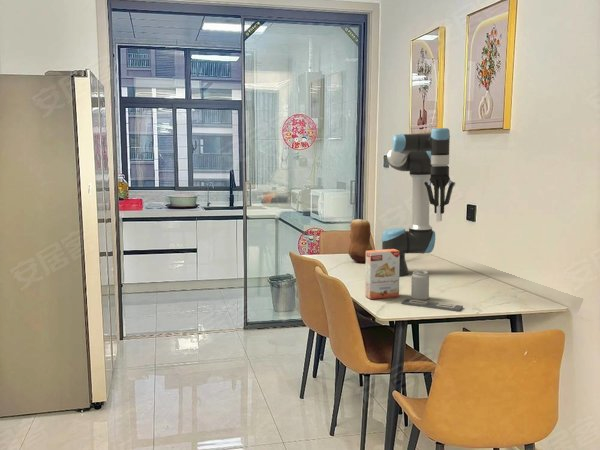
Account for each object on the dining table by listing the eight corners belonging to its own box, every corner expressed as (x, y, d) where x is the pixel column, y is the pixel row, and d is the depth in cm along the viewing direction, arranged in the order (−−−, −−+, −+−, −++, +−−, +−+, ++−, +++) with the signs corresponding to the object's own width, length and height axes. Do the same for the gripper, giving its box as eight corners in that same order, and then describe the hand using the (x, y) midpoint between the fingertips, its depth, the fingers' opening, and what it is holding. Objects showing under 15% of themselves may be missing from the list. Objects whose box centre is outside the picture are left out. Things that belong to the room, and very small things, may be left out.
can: (431, 298, 242) (432, 271, 240) (424, 302, 236) (424, 274, 234) (416, 295, 247) (416, 269, 245) (408, 299, 241) (408, 272, 239)
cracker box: (370, 300, 241) (370, 252, 238) (365, 296, 247) (364, 250, 244) (400, 297, 245) (400, 250, 242) (393, 293, 251) (394, 248, 248)
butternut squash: (372, 259, 327) (372, 217, 324) (373, 264, 314) (372, 220, 311) (348, 259, 329) (348, 217, 325) (348, 264, 316) (347, 220, 312)
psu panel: (406, 300, 239) (407, 298, 239) (463, 307, 226) (463, 305, 226) (401, 303, 234) (401, 301, 234) (458, 311, 221) (458, 309, 221)
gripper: (458, 165, 233) (457, 220, 237) (427, 165, 240) (427, 219, 244) (452, 165, 227) (451, 223, 230) (421, 165, 234) (421, 221, 237)
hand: (439, 221), depth 237 cm, fingers closed
